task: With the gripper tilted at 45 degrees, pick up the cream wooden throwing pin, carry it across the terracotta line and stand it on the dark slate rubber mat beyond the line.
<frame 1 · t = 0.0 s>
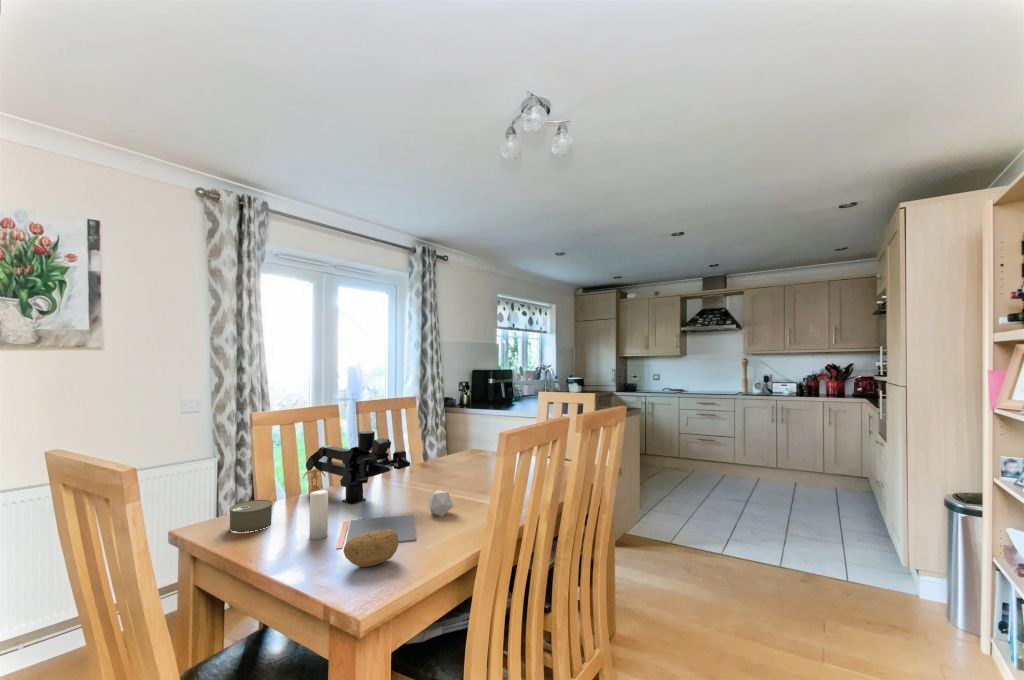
hand: (399, 466, 156), 16 cm above the table, tool horizontal, fingers open, 9 cm apart
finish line: (342, 534, 137), on the table
potato: (371, 565, 117), on the table
throwing pin: (318, 536, 136), on the table
die: (439, 514, 155), on the table
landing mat: (381, 530, 140), on the table
can: (250, 527, 143), on the table
figurine: (314, 496, 175), on the table, touching arm
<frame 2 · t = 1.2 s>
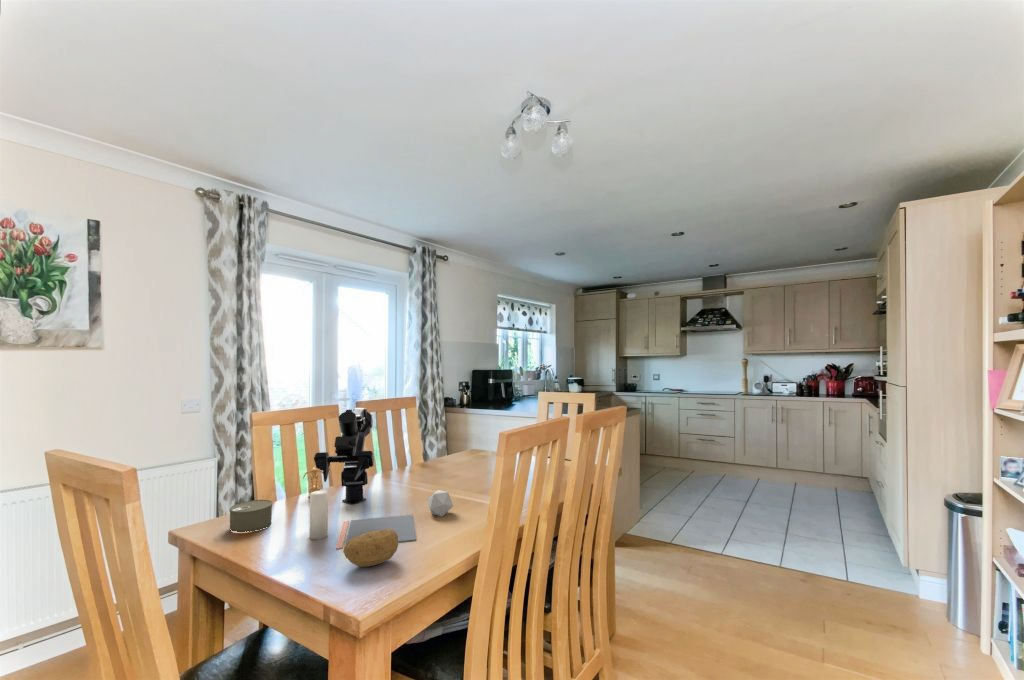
hand: (339, 480, 145), 14 cm above the table, tool tilted 50°, fingers open, 9 cm apart
figurine: (314, 496, 175), on the table
everything else where it was.
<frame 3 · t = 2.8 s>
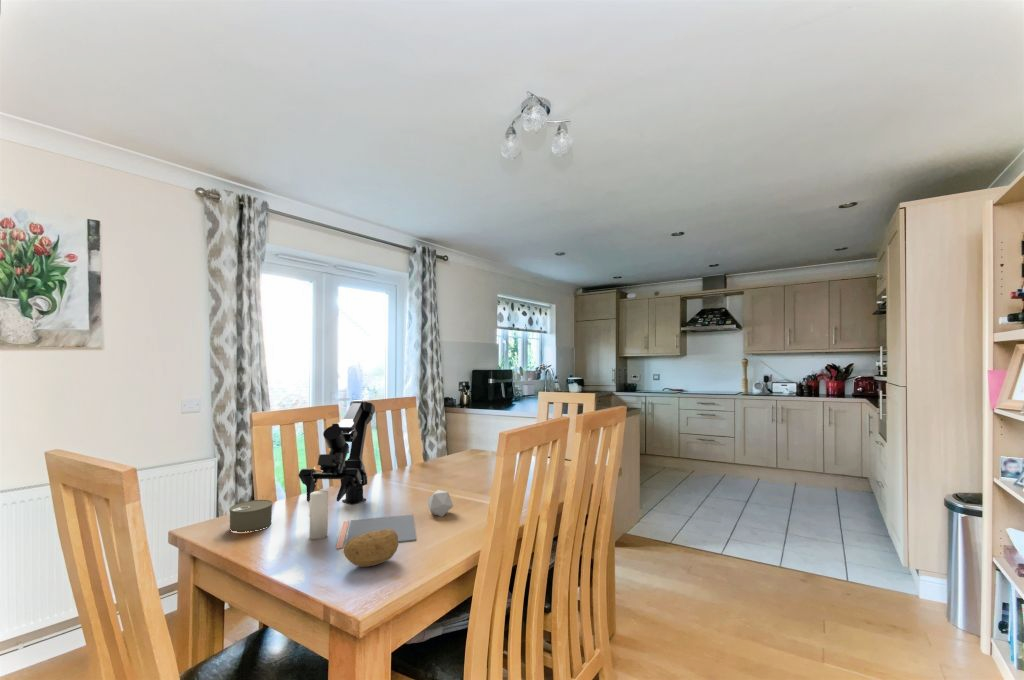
hand: (322, 500, 139), 10 cm above the table, tool tilted 45°, fingers open, 9 cm apart
nothing on the table moved.
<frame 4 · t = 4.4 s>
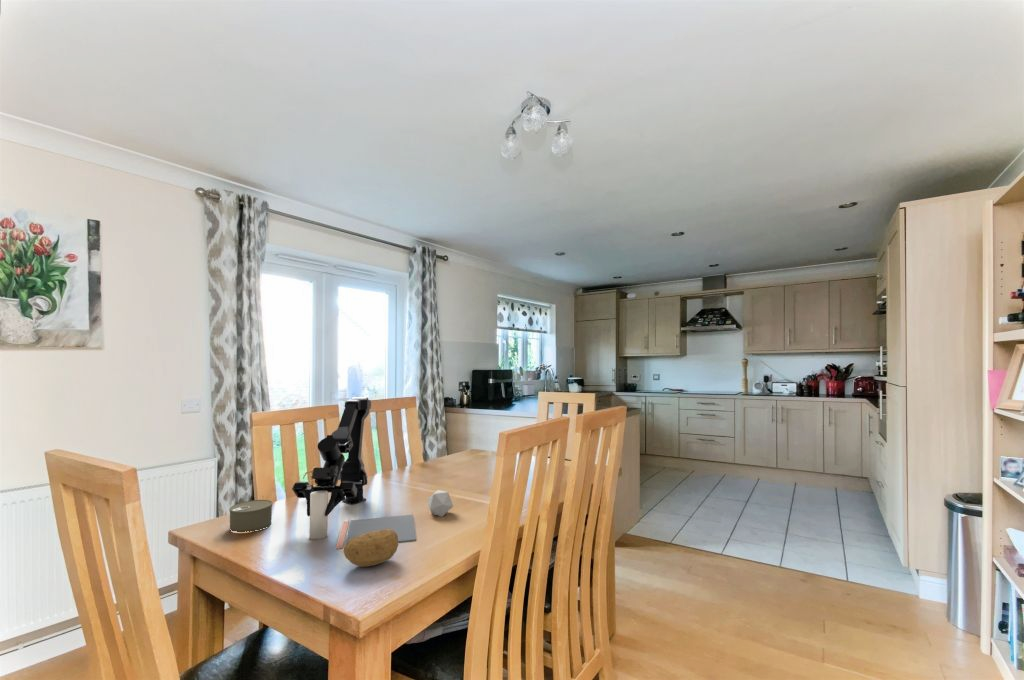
hand: (316, 515, 135), 7 cm above the table, tool tilted 45°, fingers closed on throwing pin, 5 cm apart
throwing pin: (318, 536, 136), on the table, touching gripper
everything else where it was.
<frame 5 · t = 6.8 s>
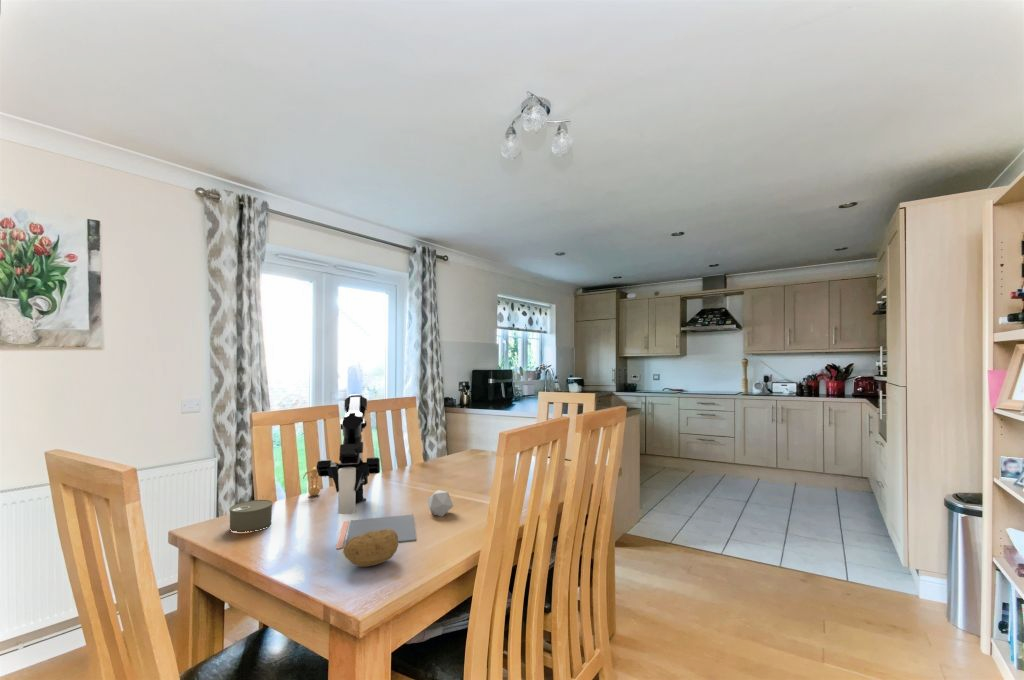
hand: (346, 491, 136), 13 cm above the table, tool tilted 45°, fingers closed on throwing pin, 5 cm apart
throwing pin: (346, 511, 138), point 7 cm above the table, touching gripper
everything else where it was.
when the fingers open (8 cm above the table, at t = 9.1 s): throwing pin drops 1 cm, resting on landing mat.
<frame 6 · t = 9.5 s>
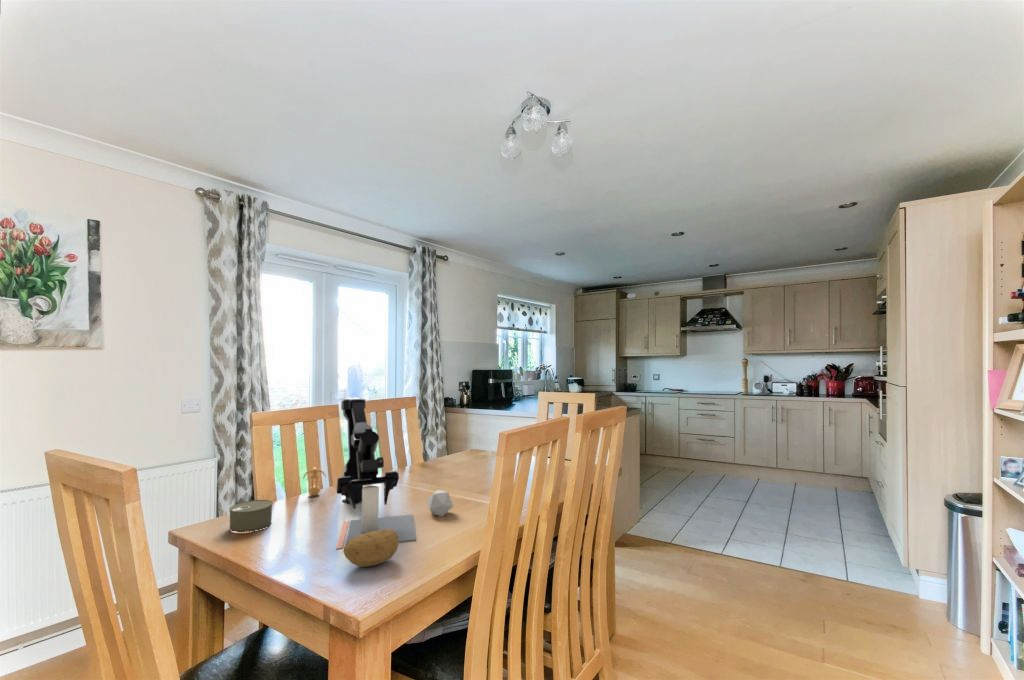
hand: (370, 506, 138), 8 cm above the table, tool tilted 45°, fingers open, 9 cm apart
throwing pin: (369, 530, 139), resting on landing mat
everything else where it was.
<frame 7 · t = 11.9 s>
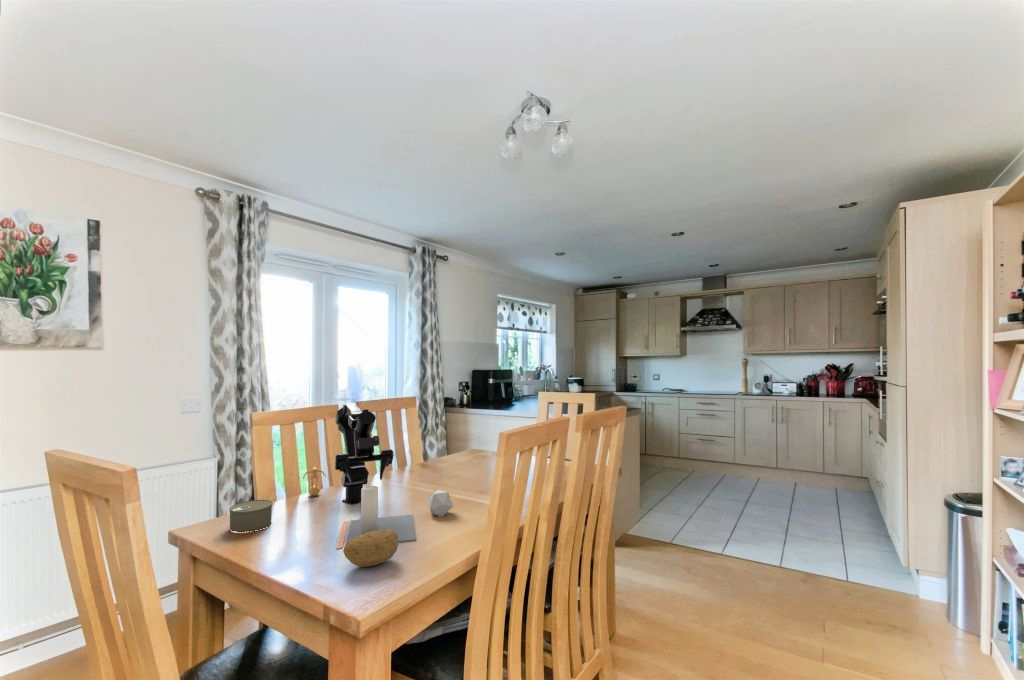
hand: (366, 481, 147), 14 cm above the table, tool tilted 45°, fingers open, 9 cm apart
nothing on the table moved.
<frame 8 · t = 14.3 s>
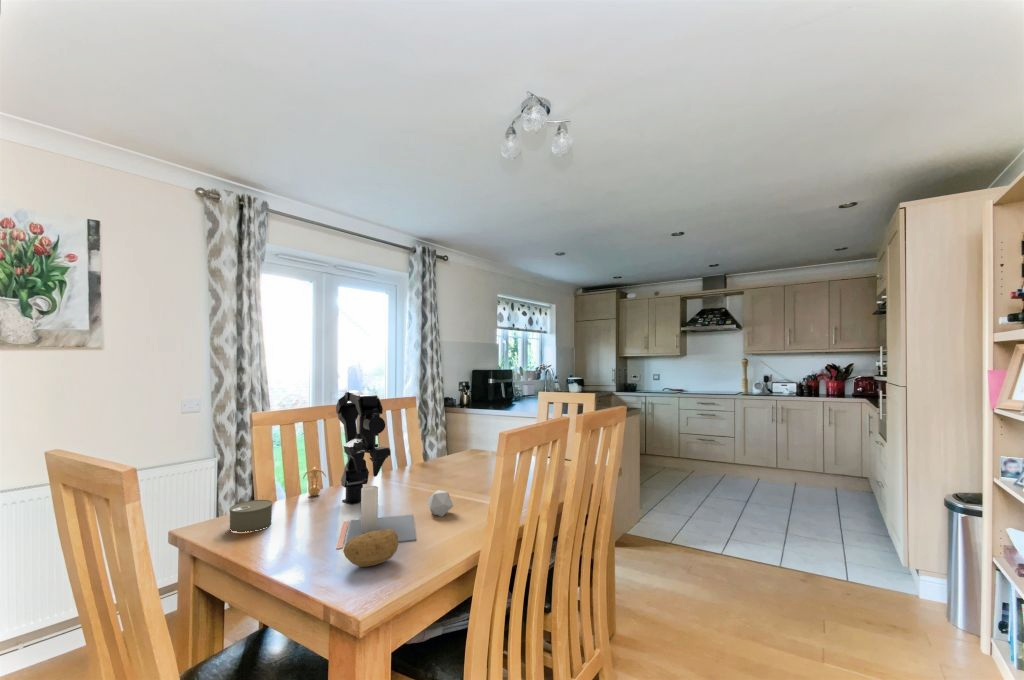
hand: (366, 474, 158), 13 cm above the table, tool pointing down, fingers open, 9 cm apart
nothing on the table moved.
at the end: throwing pin inside the target area (3.3 cm from its centre), resting on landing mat; throwing pin tilted 0°; the gripper is holding nothing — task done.
